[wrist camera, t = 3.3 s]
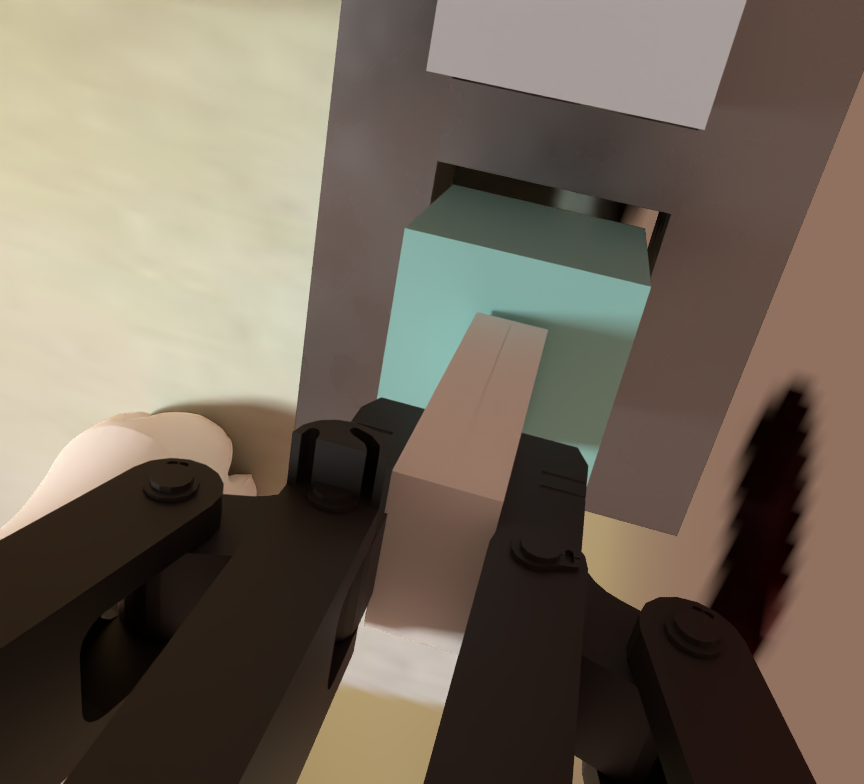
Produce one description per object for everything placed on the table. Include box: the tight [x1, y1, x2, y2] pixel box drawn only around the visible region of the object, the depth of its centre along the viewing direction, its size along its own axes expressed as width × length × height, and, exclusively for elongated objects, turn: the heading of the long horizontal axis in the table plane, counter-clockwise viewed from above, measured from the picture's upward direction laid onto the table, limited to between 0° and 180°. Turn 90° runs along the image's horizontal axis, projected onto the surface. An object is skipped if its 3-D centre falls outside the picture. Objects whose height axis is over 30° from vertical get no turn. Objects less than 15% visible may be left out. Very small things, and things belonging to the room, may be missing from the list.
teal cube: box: [377, 185, 651, 486], centre depth 19 cm, size 5×5×5 cm
